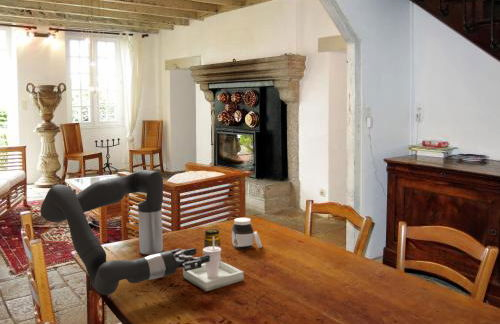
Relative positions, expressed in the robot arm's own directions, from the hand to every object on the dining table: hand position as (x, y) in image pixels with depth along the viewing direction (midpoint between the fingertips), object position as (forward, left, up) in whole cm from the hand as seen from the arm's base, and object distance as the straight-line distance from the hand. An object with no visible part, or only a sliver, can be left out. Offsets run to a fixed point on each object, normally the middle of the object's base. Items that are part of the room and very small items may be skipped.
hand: (202, 254), depth 159 cm
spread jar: (-20, +34, -10) cm, 41 cm away
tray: (0, +4, -10) cm, 11 cm away
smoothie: (0, +4, -9) cm, 10 cm away
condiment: (-16, +13, -10) cm, 23 cm away
